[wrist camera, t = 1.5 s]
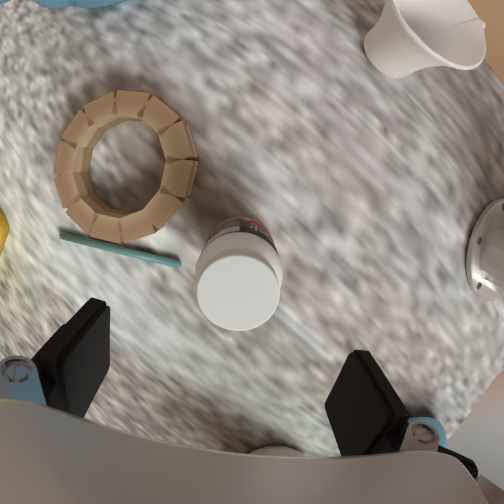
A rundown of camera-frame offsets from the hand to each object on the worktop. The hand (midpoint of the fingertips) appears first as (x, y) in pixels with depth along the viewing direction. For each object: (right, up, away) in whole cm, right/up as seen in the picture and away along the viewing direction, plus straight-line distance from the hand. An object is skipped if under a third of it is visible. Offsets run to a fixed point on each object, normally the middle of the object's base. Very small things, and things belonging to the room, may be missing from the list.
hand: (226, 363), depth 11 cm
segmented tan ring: (-10, +12, +13) cm, 20 cm away
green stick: (-11, +4, +15) cm, 19 cm away
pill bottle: (0, +4, +16) cm, 16 cm away
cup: (+14, +23, +11) cm, 29 cm away
